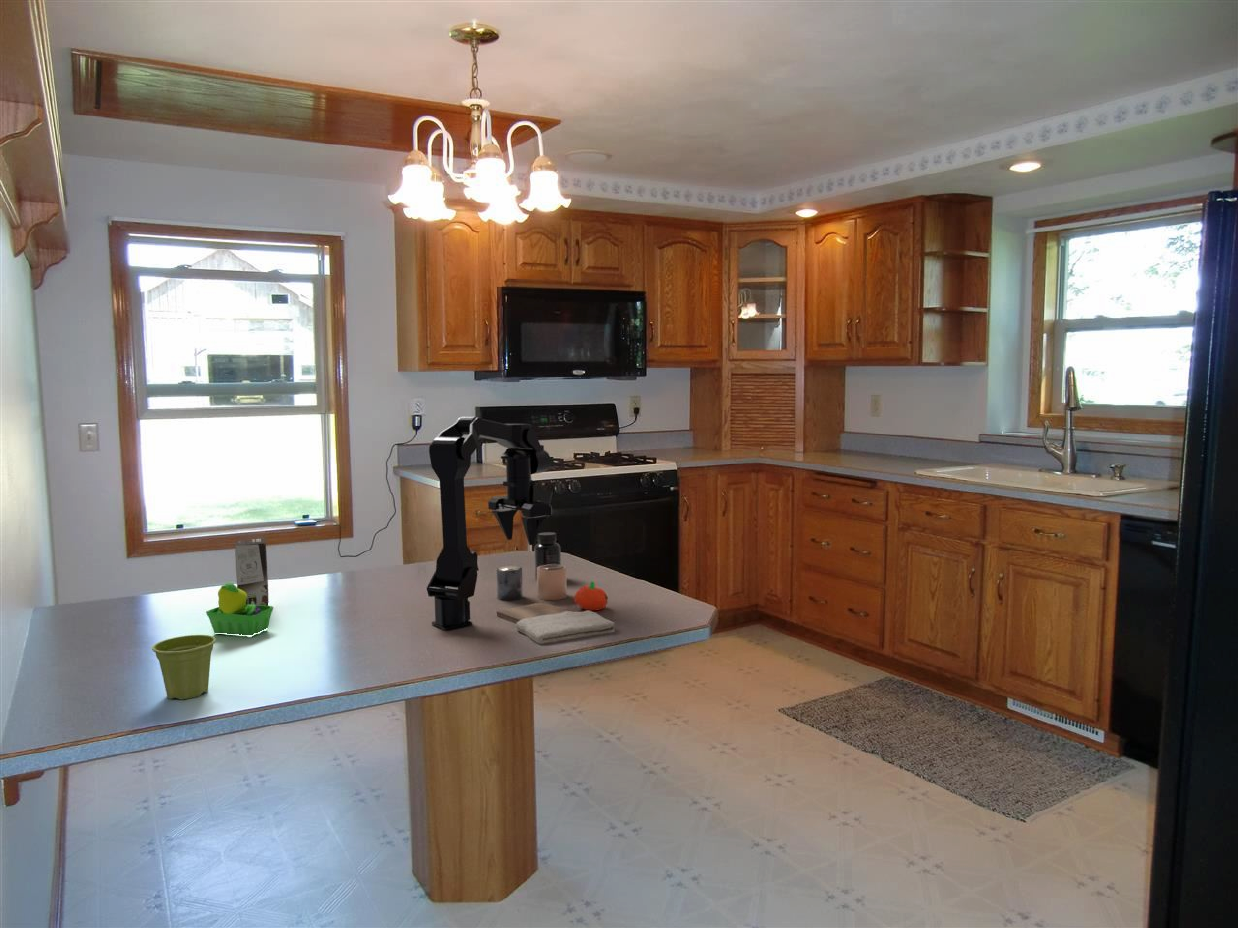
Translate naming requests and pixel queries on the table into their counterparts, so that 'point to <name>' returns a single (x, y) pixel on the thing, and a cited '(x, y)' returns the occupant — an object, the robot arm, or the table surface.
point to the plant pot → (185, 664)
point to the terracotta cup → (551, 582)
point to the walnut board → (529, 611)
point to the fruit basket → (238, 613)
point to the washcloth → (564, 626)
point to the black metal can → (509, 583)
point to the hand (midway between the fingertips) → (520, 542)
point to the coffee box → (252, 570)
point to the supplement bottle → (547, 551)
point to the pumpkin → (591, 597)
